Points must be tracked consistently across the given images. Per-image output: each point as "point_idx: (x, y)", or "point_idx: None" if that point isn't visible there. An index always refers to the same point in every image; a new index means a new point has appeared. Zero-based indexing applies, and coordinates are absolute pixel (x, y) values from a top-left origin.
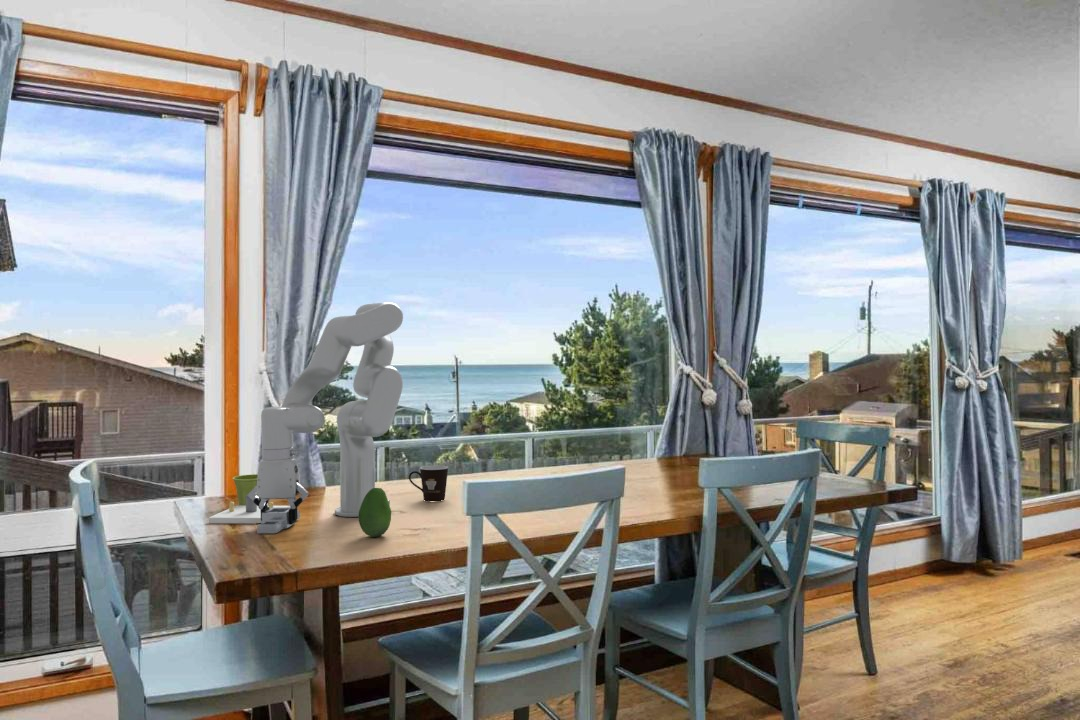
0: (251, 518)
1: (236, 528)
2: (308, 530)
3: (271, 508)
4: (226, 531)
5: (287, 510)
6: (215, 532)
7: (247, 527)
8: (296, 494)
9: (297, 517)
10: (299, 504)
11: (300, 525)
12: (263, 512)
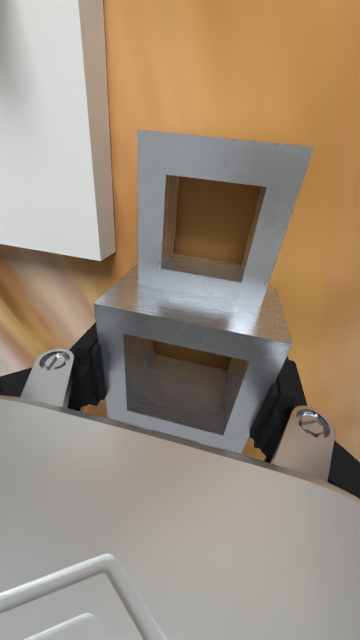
0: (11, 243)
1: (32, 322)
2: (337, 409)
3: (107, 333)
4: (30, 357)
5: (238, 414)
6: (7, 362)
7: (63, 314)
8: (345, 493)
9: (295, 364)
10: (338, 456)
11: (301, 317)
12: (110, 411)
